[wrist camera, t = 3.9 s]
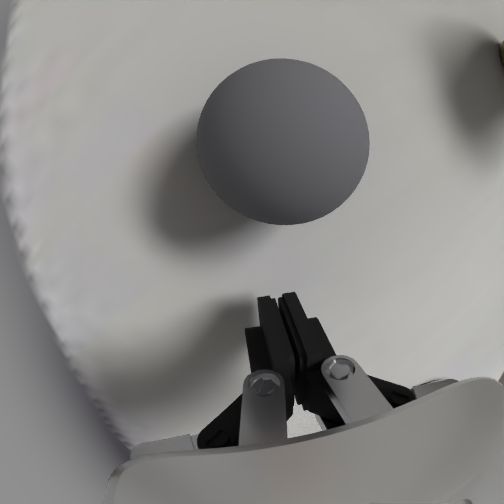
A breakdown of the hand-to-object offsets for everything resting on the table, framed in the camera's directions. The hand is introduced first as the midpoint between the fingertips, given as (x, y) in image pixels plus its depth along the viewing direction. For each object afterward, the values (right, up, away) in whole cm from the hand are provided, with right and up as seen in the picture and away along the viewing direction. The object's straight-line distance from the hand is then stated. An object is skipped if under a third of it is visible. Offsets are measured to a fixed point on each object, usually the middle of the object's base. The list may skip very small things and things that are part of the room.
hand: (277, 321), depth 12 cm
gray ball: (0, +7, -4) cm, 8 cm away
